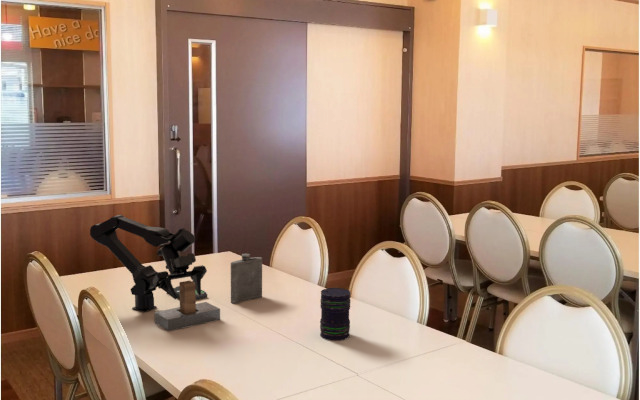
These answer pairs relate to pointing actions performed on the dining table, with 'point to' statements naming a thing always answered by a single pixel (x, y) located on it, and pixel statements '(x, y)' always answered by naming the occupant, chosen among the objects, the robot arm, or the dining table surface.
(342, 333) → the storage jar
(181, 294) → the walnut peg
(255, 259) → the flask
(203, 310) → the rail block
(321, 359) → the dining table surface
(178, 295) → the disk drive
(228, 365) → the dining table surface
